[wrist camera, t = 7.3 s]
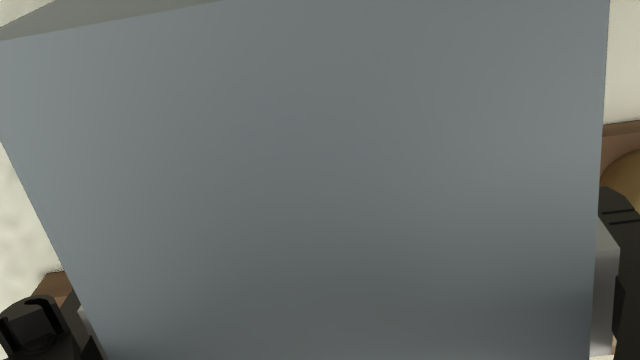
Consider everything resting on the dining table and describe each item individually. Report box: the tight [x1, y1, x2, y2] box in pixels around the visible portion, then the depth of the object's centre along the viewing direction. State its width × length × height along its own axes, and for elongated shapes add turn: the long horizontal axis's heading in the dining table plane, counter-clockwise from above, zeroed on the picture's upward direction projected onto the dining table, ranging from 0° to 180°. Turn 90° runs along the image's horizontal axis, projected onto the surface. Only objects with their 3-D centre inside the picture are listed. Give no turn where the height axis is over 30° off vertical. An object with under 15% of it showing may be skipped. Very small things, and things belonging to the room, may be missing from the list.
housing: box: [0, 0, 610, 360], centre depth 15 cm, size 14×9×8 cm, turn 10°
